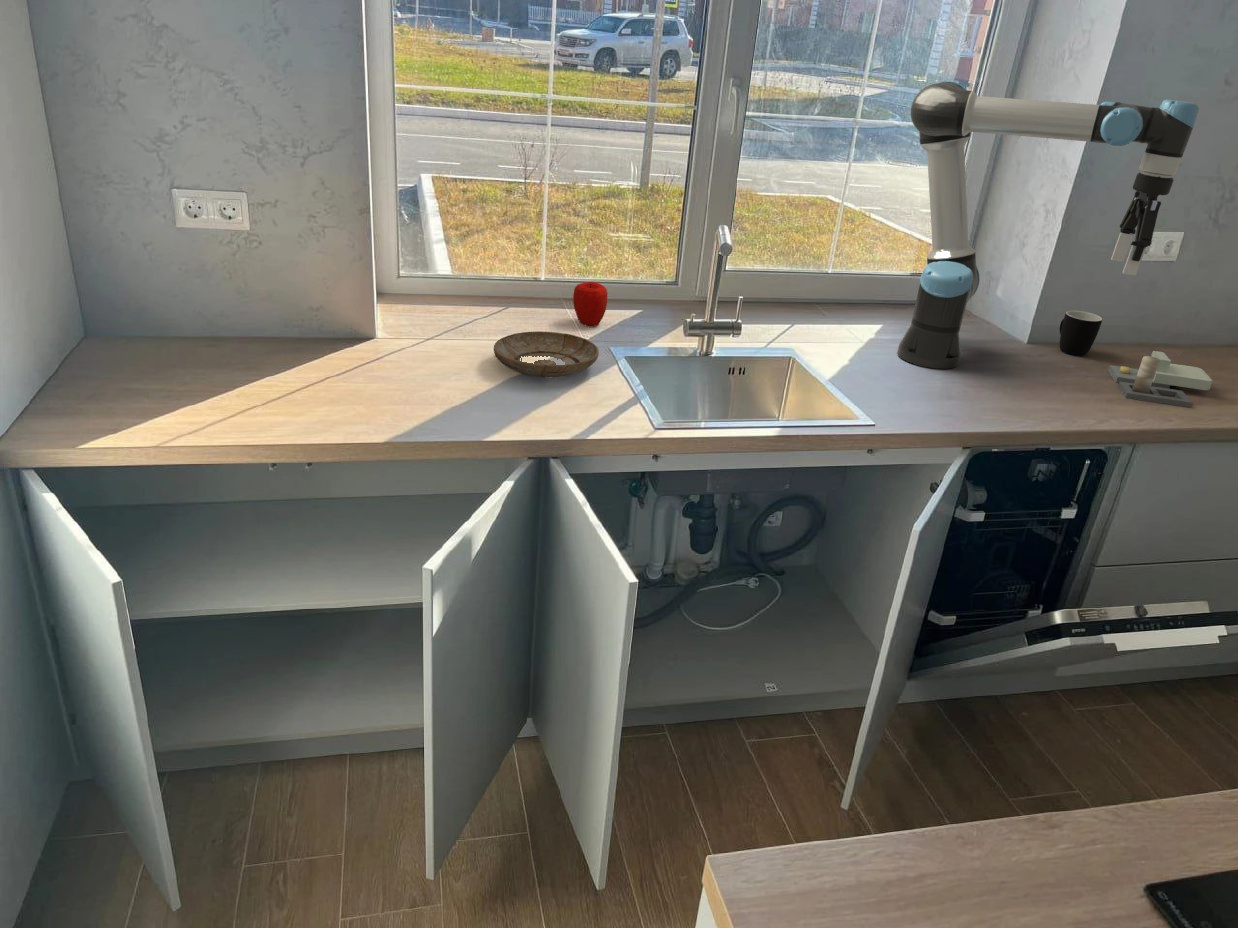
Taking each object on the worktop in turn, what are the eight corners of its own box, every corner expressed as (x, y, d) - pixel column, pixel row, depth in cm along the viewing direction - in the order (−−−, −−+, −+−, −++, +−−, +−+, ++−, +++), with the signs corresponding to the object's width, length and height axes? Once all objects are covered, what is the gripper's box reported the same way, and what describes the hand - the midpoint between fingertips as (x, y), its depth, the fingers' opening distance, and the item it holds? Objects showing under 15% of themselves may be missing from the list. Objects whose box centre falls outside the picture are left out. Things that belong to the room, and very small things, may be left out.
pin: (1131, 395, 217) (1144, 359, 213) (1129, 390, 220) (1142, 355, 216) (1148, 398, 216) (1161, 362, 212) (1145, 393, 219) (1158, 357, 215)
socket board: (1125, 397, 216) (1127, 392, 215) (1118, 386, 223) (1119, 381, 222) (1190, 407, 213) (1191, 402, 212) (1180, 395, 220) (1182, 390, 219)
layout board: (1115, 382, 225) (1119, 372, 224) (1107, 370, 233) (1111, 360, 231) (1168, 390, 222) (1172, 380, 221) (1158, 378, 230) (1162, 368, 229)
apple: (575, 317, 239) (577, 276, 234) (608, 321, 238) (611, 280, 234) (568, 327, 231) (570, 285, 227) (602, 331, 231) (605, 289, 226)
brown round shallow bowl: (619, 371, 207) (620, 350, 204) (542, 395, 191) (543, 373, 188) (548, 343, 220) (549, 323, 218) (471, 363, 204) (471, 342, 202)
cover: (1153, 382, 222) (1160, 361, 220) (1142, 368, 231) (1150, 348, 229) (1209, 390, 220) (1218, 369, 217) (1197, 376, 228) (1205, 356, 226)
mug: (1098, 358, 241) (1110, 321, 237) (1068, 358, 240) (1079, 320, 235) (1070, 343, 252) (1081, 307, 247) (1041, 342, 250) (1051, 306, 246)
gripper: (1189, 185, 194) (1152, 283, 203) (1160, 169, 215) (1128, 258, 225) (1151, 180, 195) (1116, 277, 205) (1126, 164, 217) (1096, 253, 226)
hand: (1122, 267), depth 215 cm, fingers open, 13 cm apart
